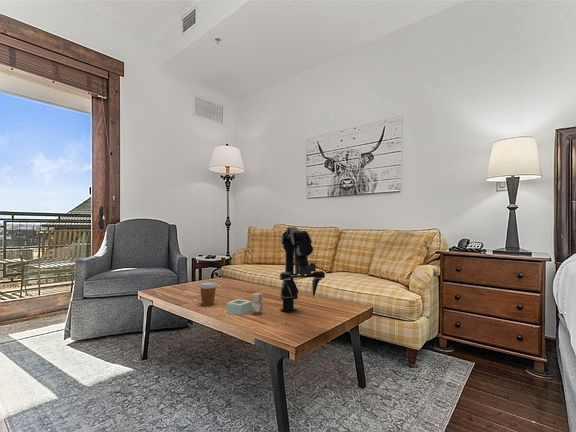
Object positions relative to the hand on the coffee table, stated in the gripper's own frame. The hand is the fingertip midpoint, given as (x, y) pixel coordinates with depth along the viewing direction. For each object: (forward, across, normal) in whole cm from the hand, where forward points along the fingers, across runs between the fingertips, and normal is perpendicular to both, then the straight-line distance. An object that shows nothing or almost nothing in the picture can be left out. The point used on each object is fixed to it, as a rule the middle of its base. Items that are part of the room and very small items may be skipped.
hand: (303, 296), depth 128 cm
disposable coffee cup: (+2, -43, +56) cm, 70 cm away
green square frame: (+6, -26, +39) cm, 47 cm away
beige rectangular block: (+7, -17, +34) cm, 39 cm away
